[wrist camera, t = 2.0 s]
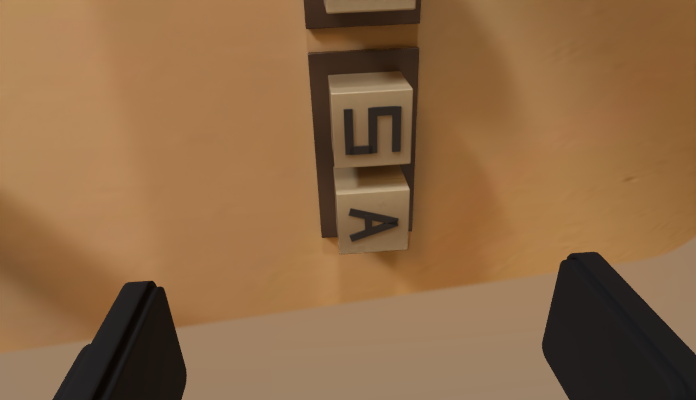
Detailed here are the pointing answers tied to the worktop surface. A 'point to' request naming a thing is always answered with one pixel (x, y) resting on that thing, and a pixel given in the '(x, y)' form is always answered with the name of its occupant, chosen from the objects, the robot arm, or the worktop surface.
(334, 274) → the worktop surface
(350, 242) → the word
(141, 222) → the worktop surface
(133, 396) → the robot arm
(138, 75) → the worktop surface
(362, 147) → the tile
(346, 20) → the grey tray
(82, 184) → the worktop surface
